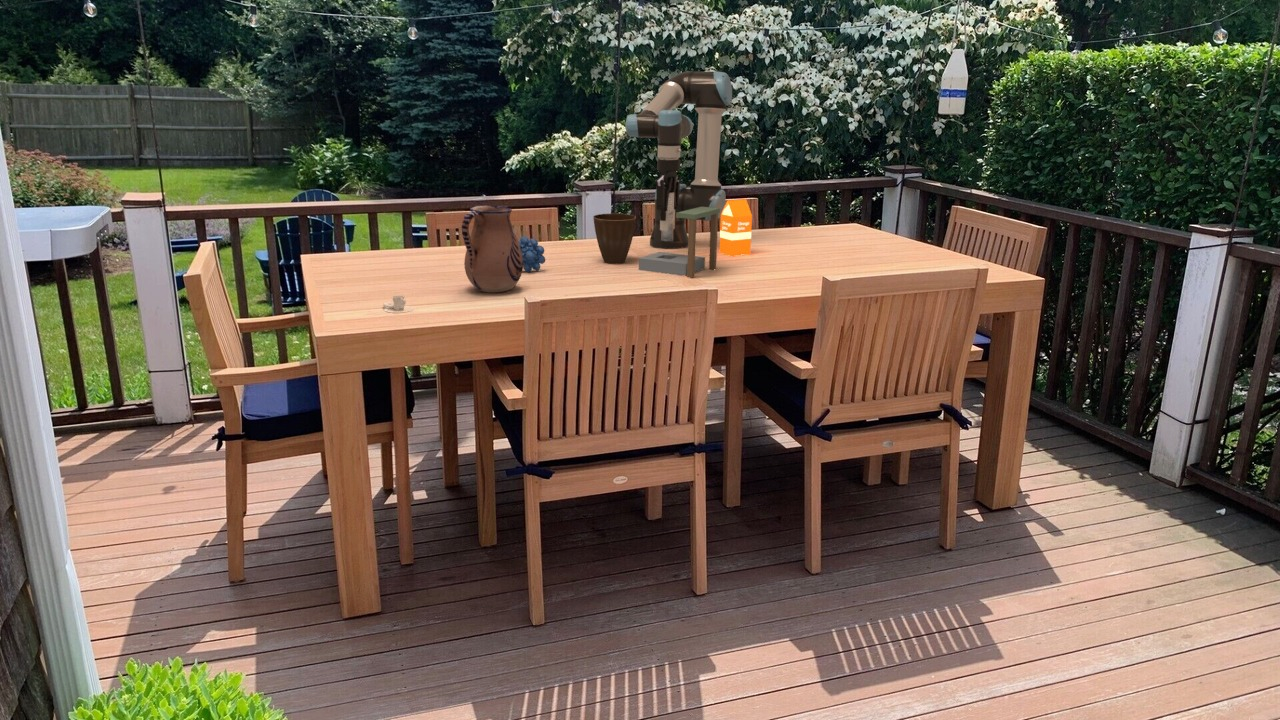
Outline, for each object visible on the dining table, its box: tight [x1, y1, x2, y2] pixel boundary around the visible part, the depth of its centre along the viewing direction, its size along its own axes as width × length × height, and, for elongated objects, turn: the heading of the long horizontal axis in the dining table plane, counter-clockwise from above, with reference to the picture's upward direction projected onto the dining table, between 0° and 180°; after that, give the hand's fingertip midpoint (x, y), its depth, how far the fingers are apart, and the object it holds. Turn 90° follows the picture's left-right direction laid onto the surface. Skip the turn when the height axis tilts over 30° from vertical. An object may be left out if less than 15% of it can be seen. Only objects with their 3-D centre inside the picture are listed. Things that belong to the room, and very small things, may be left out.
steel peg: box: [661, 192, 674, 241], centre depth 310 cm, size 4×4×16 cm
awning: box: [676, 207, 720, 279], centre depth 306 cm, size 7×18×21 cm, turn 149°
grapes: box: [518, 235, 547, 273], centre depth 305 cm, size 12×7×12 cm, turn 110°
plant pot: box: [592, 213, 637, 265], centre depth 323 cm, size 15×15×16 cm
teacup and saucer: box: [382, 294, 414, 314], centre depth 257 cm, size 9×8×4 cm
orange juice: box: [718, 198, 753, 257], centre depth 340 cm, size 8×9×20 cm
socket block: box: [638, 251, 706, 277], centre depth 313 cm, size 18×14×4 cm
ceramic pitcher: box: [461, 204, 524, 294], centre depth 276 cm, size 18×21×25 cm
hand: (667, 229), depth 311 cm, fingers closed on steel peg, 4 cm apart
